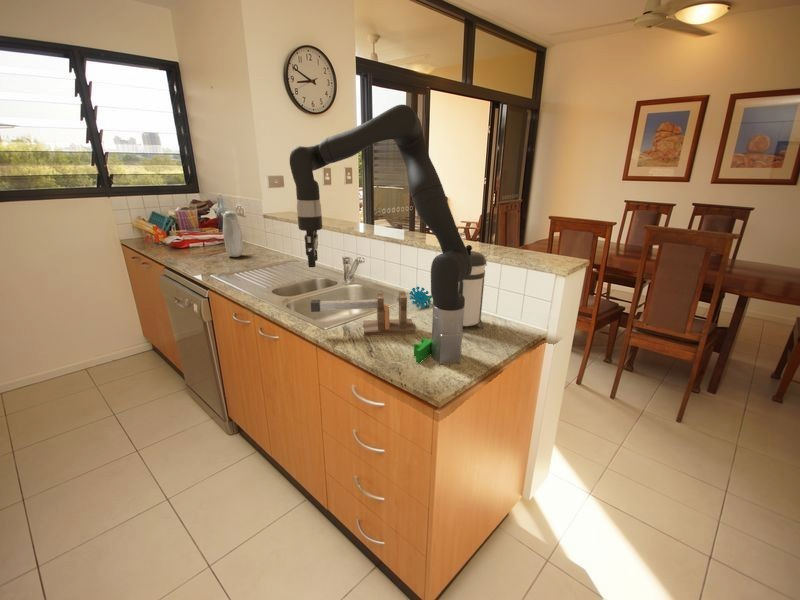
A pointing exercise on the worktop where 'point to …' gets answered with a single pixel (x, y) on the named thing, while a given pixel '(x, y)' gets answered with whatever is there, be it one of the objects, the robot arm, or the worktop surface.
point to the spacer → (386, 316)
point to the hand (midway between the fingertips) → (313, 263)
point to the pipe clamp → (422, 349)
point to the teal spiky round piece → (420, 297)
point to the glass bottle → (232, 234)
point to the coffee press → (473, 289)
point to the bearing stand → (395, 325)
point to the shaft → (342, 304)
